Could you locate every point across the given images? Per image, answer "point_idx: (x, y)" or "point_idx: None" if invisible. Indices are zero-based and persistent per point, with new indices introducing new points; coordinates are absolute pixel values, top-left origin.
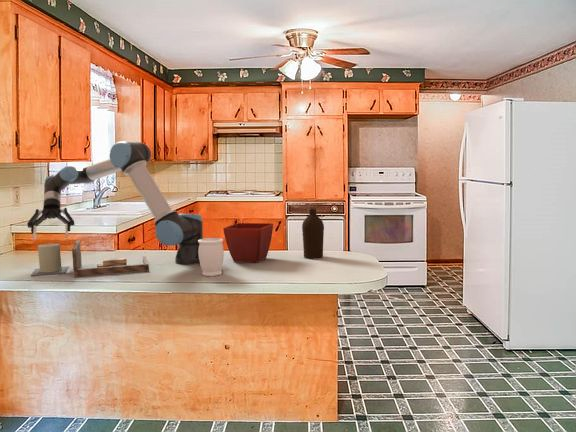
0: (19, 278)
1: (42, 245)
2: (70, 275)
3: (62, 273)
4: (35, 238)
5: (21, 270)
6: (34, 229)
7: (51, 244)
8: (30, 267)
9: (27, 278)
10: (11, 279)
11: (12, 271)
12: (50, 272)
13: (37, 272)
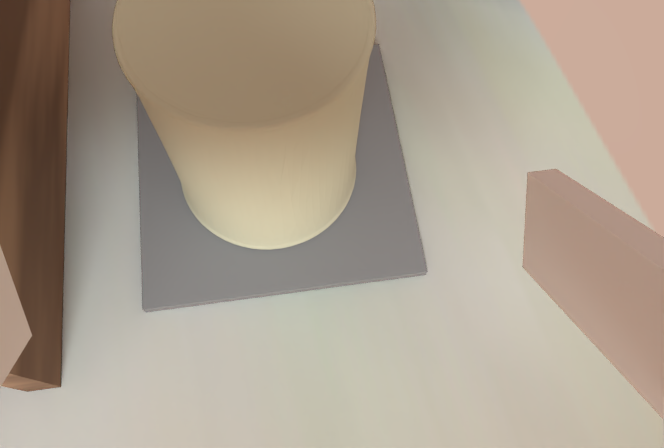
0: (435, 17)
1: (324, 21)
2: (98, 17)
3: None
4: (525, 233)
5: None
6: (640, 237)
7: (225, 62)
8: (524, 419)
9: (379, 4)
10: (479, 3)
11: None
12: None
13: None
